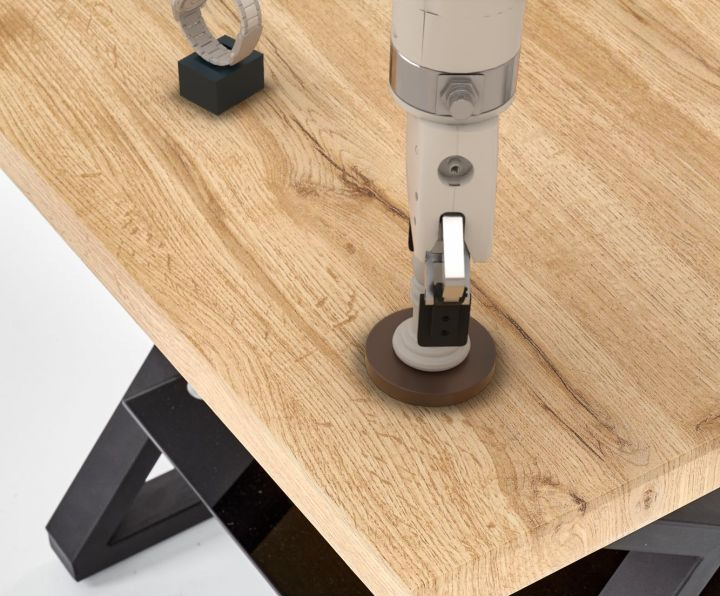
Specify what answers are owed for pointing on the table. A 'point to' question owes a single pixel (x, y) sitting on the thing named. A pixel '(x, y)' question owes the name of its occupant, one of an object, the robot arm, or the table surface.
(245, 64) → the watch
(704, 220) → the table surface
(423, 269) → the chess piece
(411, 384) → the walnut chip
